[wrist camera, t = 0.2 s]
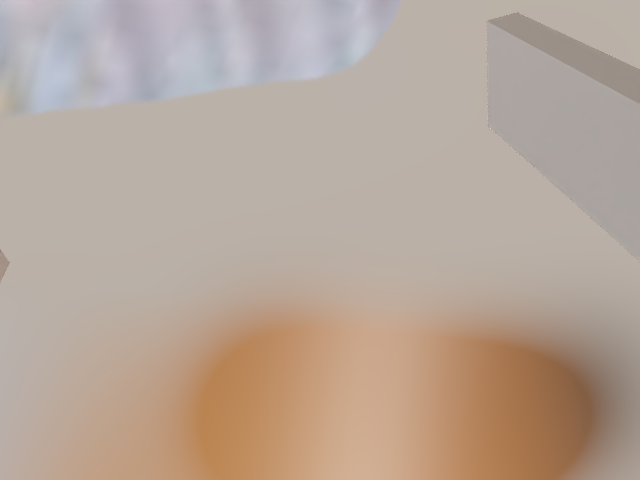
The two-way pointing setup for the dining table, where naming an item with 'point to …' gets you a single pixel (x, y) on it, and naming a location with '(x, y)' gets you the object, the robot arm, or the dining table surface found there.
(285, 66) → the dining table surface
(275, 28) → the dining table surface
